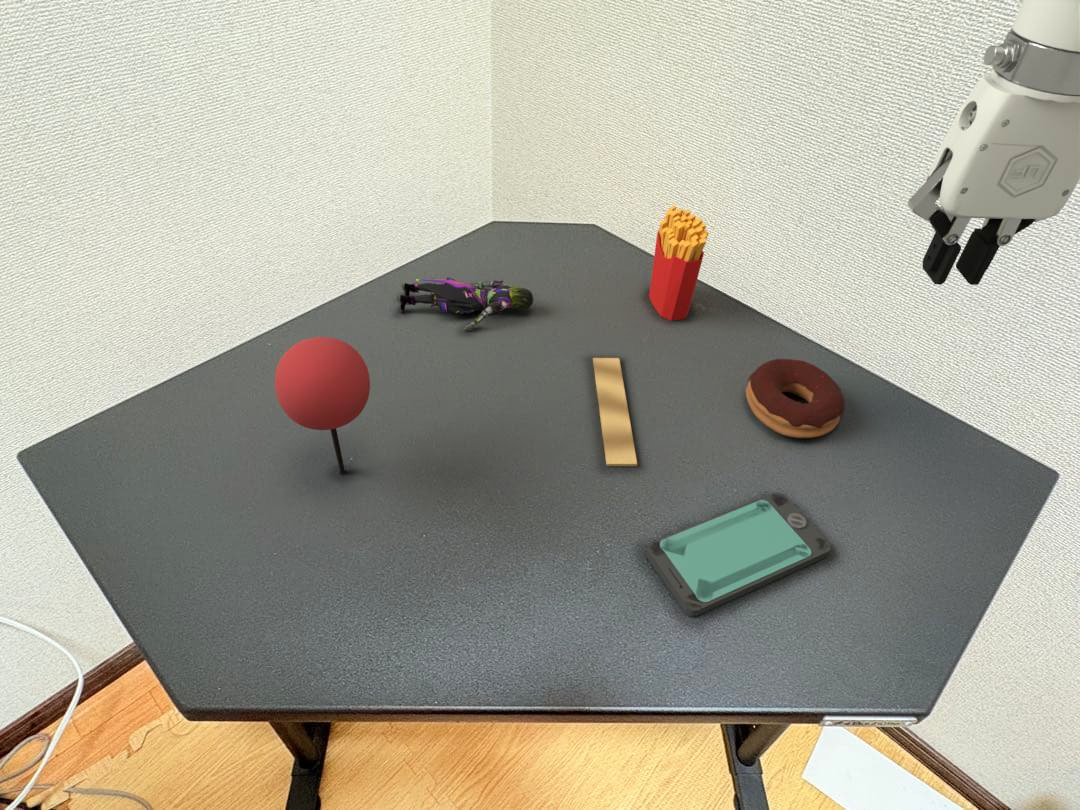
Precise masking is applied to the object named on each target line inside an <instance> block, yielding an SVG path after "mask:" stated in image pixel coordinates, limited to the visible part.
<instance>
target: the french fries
mask: <svg viewBox="0 0 1080 810" xmlns="http://www.w3.org/2000/svg"><path fill="white" fill-rule="evenodd" d="M684 210H685V209H684V208H683V207H680V208H678V209H677V206H676V205H675V204H673V205H671V206H670V207H669V208H668V210H667V212H666V214H665V215H664V217H663V220H662V221H660V222H659V228H658V230H657V233H656V239H655V240H656V241H655V247H654V255H653V262H652V263H653V264H652V272H651V277H650V278H651V280H650V285H649V293H648V298H649V300H650V302H651V304H652V305H653V307H654V309H655V310H656V312H657V314H659V315H658V316H660V317H662V318H664V319H666V320H668V321H671V322H672V321H679V320H685V319H686V318H687V316H688V314H689V312H690V307H691V304H692V301H693V296H694V293H695V290H696V286H697V282H698V278H699V274H700V270H701V266H702V263H703V259H704V256H705V252H704V251H703V250H704V248H705V246H706V243H707V238H708V237H709V231H708V230H707V229H706V228H707V223H706V222H703V218H702V217H700V218H699V217H697V215H696V213H693V214H691V211H690V209H687V210H685V211H684Z"/></svg>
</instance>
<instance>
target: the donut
mask: <svg viewBox="0 0 1080 810" xmlns="http://www.w3.org/2000/svg"><path fill="white" fill-rule="evenodd" d="M747 381H748V385H746V388H745V397H746V400H747V403H748V406H749V408H750V410H751V412H752V413H753V414H754V415H755V417H756V418H757V419H758V420H759V421H760V422H761V423H762V424H764V426H766V427H767V428H769V429H771V430H772V431H774V432H775V433H777V434H779V435H781V436H784V437H788V438H793V439H794V438H795V439H812V438H819V437H822V436H824V435H826V434H829V433H830V432H832V431H833V430H835V428H836V427H837V426H838V424H839V422H840V419H841V417H842V416H843V414H844V412H845V409H846V407H845V406H846V403H845V402H846V400H845V398H844V395H843V392H842V390H841V388H840V386H839V384H838V383H837V382H836V381H835V380H834V379H833V378H832V376H830V375H829V374H828V373H827V372H825V371H824V370H823V369H821V368H819V367H817V366H815V365H814V364H812V363H810V362H808V361H805V360H802V359H800V358H799V359H794V358H783V357H782V358H775V359H770V360H768V361H766V362H764V363H762V364H761V365H760V366H758V367H757V368H756V369H755V370H754V371H753V372H752V373H751V374H750V376H749V377H748V379H747ZM784 393H788V394H789V393H790V394H793V395H795V396H797V397H799V398H801V399H803V400H805V401H806V402H807V403H802V402H800V401H796V400H794V399H791V398H790V397H788V396H786V394H784Z"/></svg>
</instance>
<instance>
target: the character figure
mask: <svg viewBox="0 0 1080 810" xmlns="http://www.w3.org/2000/svg"><path fill="white" fill-rule="evenodd" d="M419 281H421V279H420V278H416V279H415V283H408V282H407V283H406V282H402V284H401V288H402V290H403V294H398V295H397V302H398V311H399V313H404V312H405V311H406V309H405V308H406V305H407V306H416V304H425V305H427V304H428V305H429V304H430V305H429V306H430V308H433V307H435V306H436V307H438V308H439V311H440V312H442V313H444V314H446V313H456V314H460V315H463V314H464V313H466V314H470V313H473V312H478V311H481V313H480V314H479V315H478V316H477V317H476V318H475V319H474V320H473V321H472V322H471V323H470V324H468V325H465V326H464V328H463V329H462V330H463V331H469V330H472V329H473V328H474V327H475V326H477V325H479V324H480V323H481V322H482V321H483V320H485V319H486V318H487V317H489V315H491V314H495V313H497V314H499V315H501V311H503V310H504V309H514V308H515V309H517V308H518V309H523V310H526V309H528V308H530V307H531V306H533V303H534V295H533V293H532V291H531V290H530V289H528V288H526V287H525V288H524V287H520V286H517V285H509V284H504V280H497V279H496V280H495V279H494V280H493V281H482V282H481V281H474V283H471V284H469V283H465V282H462V281H459V280H456V279H454V278H453V277H446V278H445V279H444V278H443V279H442V278H441V279H440V278H425V279H422V282H423V281H425V282H424V283H418V282H419ZM432 282H433V283H432ZM483 288H491V289H489V290H485V289H483ZM419 291H421V292H427V293H430V294H420V292H419ZM410 293H412V295H410ZM417 293H418V294H419V295H413V294H417Z"/></svg>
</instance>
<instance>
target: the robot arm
mask: <svg viewBox="0 0 1080 810" xmlns="http://www.w3.org/2000/svg"><path fill="white" fill-rule="evenodd" d="M1018 9H1019V10H1018V11H1017V14H1016V16H1015V19H1014V20H1013V23H1012V25H1011V27H1010V30H1009V31H1007V33H1006V36H1005V38H1004V40H1003V42H1002V43H1001V44H999V45H990V46H988V47H987V49H986V51H985V52H984V55H983V63H984V65H985V66H992V71H990V72H986V73H985V72H984V73H983V74H982V76H981V77H980V79H979V80H978V81H977V82H976V83H975V86H973V88H972V90H971V91H970V93H969V95H968V96H967V98H966V99H965V101H964V102H963V104H962V106H961V108H960V109H959V111H958V113H957V114H956V116H955V118H954V119H953V121H952V123H951V125H950V126H949V128H948V130H947V132H946V134H945V136H944V138H943V140H942V142H941V144H940V146H939V148H938V150H937V152H936V154H935V156H934V158H933V161H932V163H931V166H930V168H929V171H928V174H927V177H926V180H925V182H924V183H923V184H922V185H921V186H920V187H919V188H918V189H917V191H916V192H914V194H913V195H912V196H910V198H909V199H908V200H907V206H908V208H909V209H910V210H911V212H912V213H913V214H914V215H916V216H918V217H920V219H923V220H925V221H927V222H929V223H930V225H931V228H932V230H934V234H933V236H932V239H931V241H930V243H929V245H928V247H927V250H926V252H925V254H924V256H923V259H922V269H923V271H924V272H925V273H926V274H927V276H928V277H929V278H930V280H931V282H932V283H933V284H934V285H943V284H944V283H946V281H947V279H948V277H949V274H950V273H951V271H952V268H953V267H954V265H955V268H956V269H957V271H958V273H960V275H961V276H962V277H963V278H964V280H965V281H966V282H967V283H968V284H969V285H971V286H978V285H979V284H980V282H981V281H982V279H983V277H984V275H985V273H986V271H987V270H989V267H990V266H991V263H992V262H993V260H994V258H995V256H996V255H997V252H998V251H999V248H1000V247H1005V246H1007V245H1009V244H1010V243H1011V242H1012V240H1013V238H1014V236H1015V235H1017V234H1018V233H1020V232H1021V231H1023V230H1025V229H1027V228H1028V227H1030V226H1032V225H1033V223H1038V222H1041V221H1043V220H1047V219H1049V218H1052V217H1055V216H1057V215H1059V213H1060V212H1061V211H1062V210H1063V208H1064V207H1065V205H1067V203H1068V202H1069V199H1070V198H1071V196H1072V194H1073V192H1074V191H1075V188H1076V187H1077V186H1078V183H1079V181H1080V0H1023V1H1022V2H1021V5H1020V7H1019V8H1018ZM938 200H939V204H937V203H936V202H937V201H938ZM939 205H940V206H939ZM971 219H984V220H983V223H982V227H979V228H976V227H975V228H974V230H973V231H972V232H971V233H970V236H969V237H968V240H967V242H966V244H965V245H964V247H963V250H962V246H961V244H960V243H959V241H960V239H961V238H962V235H963V233H964V232H965V230H966V229H967V226H968V224H969V223H970V221H971ZM961 250H962V251H961ZM960 253H961V254H960ZM957 259H958V260H957ZM956 261H957V262H956ZM955 262H956V264H955Z"/></svg>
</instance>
